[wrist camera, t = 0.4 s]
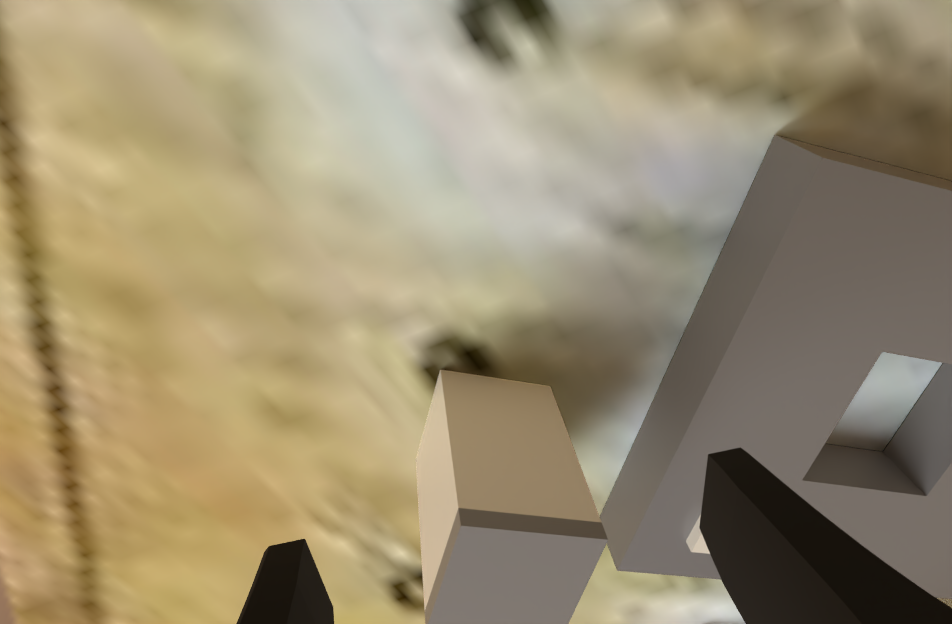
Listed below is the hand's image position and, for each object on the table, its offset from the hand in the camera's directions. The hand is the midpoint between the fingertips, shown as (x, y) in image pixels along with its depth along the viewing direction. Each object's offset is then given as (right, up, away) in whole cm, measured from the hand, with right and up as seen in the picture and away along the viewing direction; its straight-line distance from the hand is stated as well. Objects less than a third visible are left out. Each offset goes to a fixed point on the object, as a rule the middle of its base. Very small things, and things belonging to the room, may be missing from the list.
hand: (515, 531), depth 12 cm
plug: (-1, 0, +12) cm, 12 cm away
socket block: (+14, +1, +13) cm, 19 cm away
